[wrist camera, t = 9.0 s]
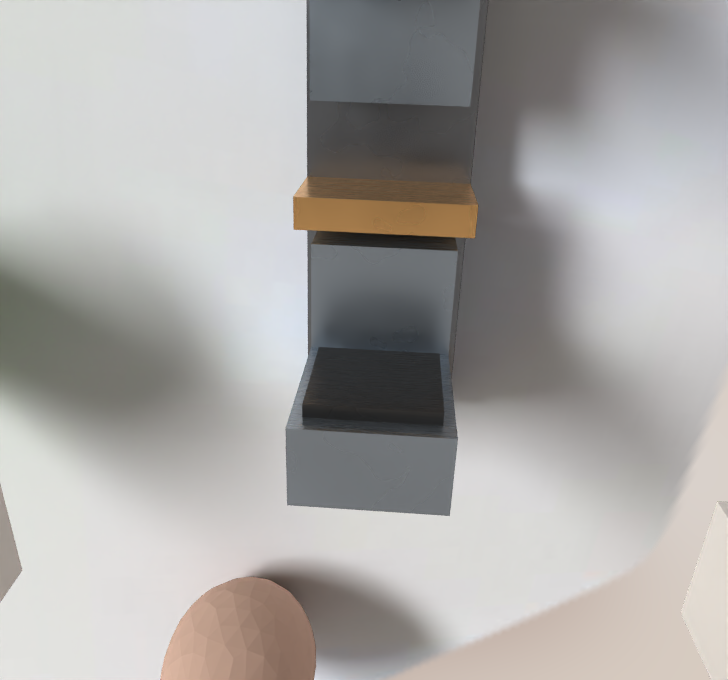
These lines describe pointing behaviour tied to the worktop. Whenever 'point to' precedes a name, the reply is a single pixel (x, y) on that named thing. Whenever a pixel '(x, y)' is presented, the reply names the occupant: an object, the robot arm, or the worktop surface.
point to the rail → (392, 121)
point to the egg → (242, 636)
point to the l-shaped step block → (376, 377)
